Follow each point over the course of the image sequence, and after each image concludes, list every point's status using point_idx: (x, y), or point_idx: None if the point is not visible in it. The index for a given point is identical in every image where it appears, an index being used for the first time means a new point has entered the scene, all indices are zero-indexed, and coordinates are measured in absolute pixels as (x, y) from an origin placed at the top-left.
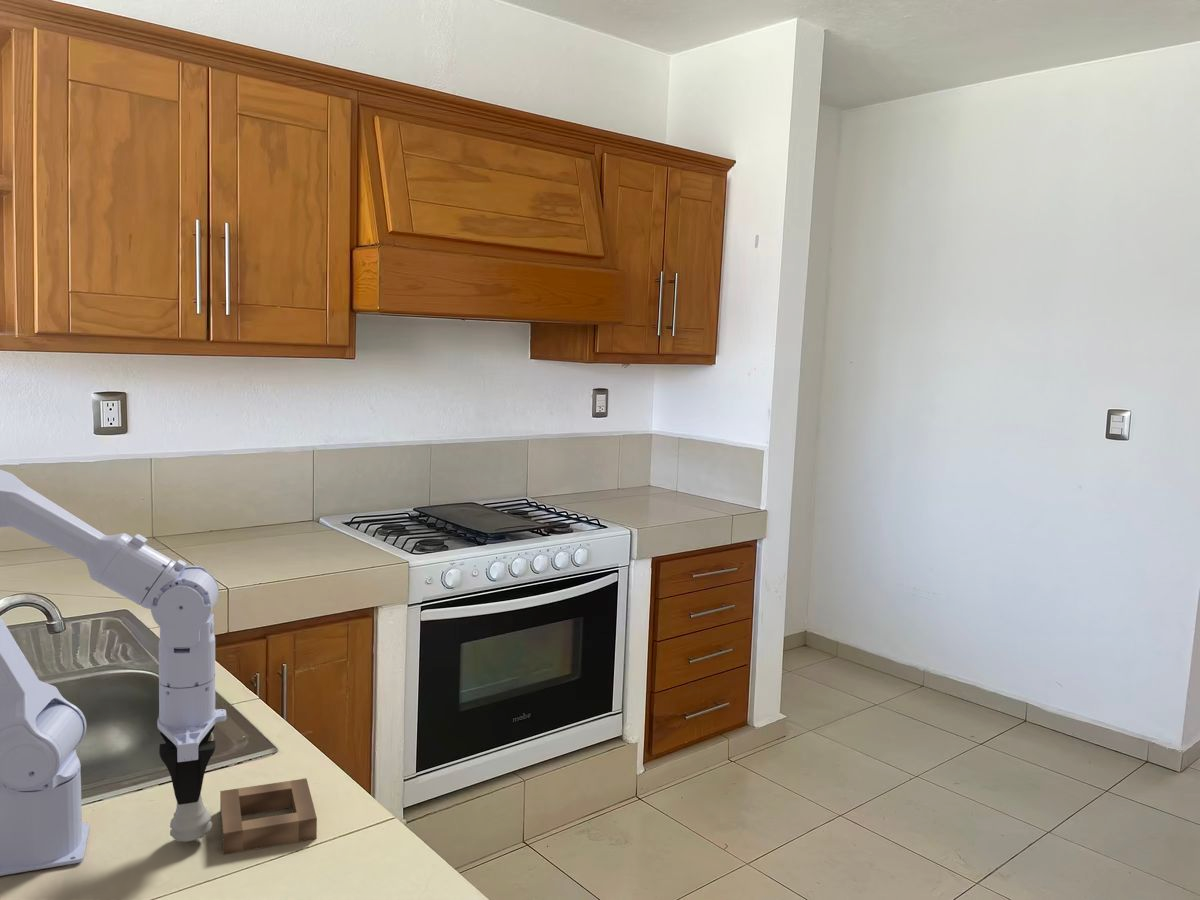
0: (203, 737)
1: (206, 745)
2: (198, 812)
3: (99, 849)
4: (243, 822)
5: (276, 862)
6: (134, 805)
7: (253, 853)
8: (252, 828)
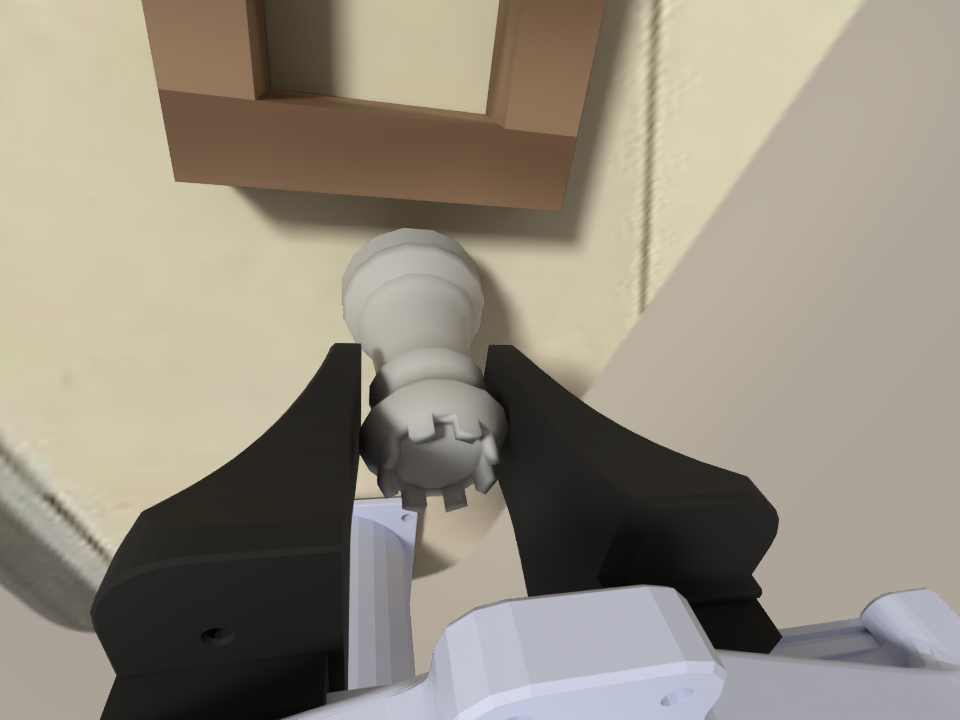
0: (883, 670)
1: (700, 546)
2: (462, 309)
3: (361, 472)
4: (520, 123)
5: (682, 11)
6: (105, 422)
7: None
8: (585, 93)
